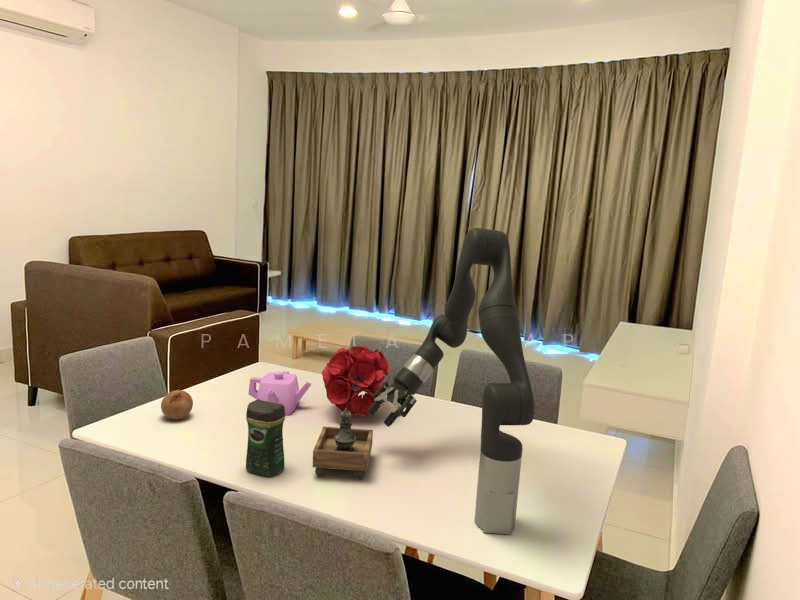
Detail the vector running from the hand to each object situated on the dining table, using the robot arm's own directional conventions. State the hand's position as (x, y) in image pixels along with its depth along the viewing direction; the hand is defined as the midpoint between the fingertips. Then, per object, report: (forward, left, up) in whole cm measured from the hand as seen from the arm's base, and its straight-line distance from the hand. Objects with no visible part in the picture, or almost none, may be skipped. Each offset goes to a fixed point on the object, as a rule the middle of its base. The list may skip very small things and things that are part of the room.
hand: (377, 419), depth 162 cm
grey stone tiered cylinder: (-6, +8, -7) cm, 12 cm away
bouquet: (+35, +8, -12) cm, 38 cm away
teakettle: (+33, +35, -12) cm, 50 cm away
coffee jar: (-11, +28, -12) cm, 32 cm away
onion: (+19, +64, -12) cm, 68 cm away
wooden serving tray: (-6, +8, -11) cm, 15 cm away
